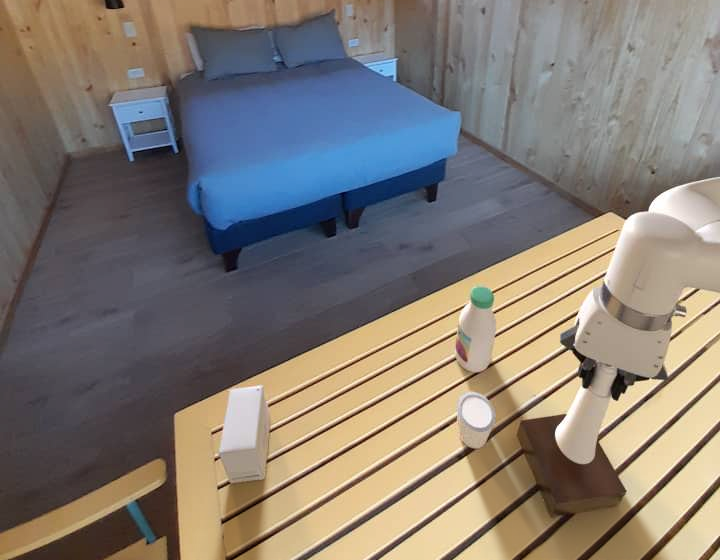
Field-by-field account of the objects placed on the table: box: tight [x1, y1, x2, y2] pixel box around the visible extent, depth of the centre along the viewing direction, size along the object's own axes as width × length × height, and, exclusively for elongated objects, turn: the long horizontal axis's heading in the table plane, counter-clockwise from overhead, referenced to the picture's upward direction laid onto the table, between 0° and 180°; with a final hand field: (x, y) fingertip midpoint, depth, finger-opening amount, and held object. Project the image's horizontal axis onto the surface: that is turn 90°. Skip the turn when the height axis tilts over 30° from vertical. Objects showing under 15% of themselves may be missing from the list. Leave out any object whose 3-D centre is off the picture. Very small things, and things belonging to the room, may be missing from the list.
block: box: [516, 413, 627, 518], centre depth 70 cm, size 12×12×5 cm
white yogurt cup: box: [456, 391, 496, 450], centre depth 75 cm, size 7×7×7 cm
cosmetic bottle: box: [555, 361, 617, 464], centre depth 62 cm, size 6×6×22 cm
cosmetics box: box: [218, 384, 271, 484], centre depth 72 cm, size 10×6×10 cm, turn 5°
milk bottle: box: [454, 285, 497, 373], centre depth 85 cm, size 8×8×20 cm
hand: (599, 384), depth 60 cm, fingers closed on cosmetic bottle, 3 cm apart
